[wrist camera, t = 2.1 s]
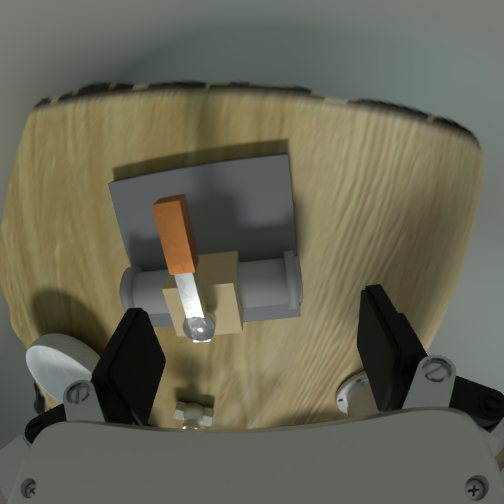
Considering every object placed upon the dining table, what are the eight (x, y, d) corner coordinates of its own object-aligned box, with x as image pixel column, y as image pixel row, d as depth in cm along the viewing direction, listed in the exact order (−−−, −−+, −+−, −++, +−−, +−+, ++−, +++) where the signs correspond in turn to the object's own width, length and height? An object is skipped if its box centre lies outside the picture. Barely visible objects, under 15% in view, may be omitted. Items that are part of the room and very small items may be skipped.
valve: (179, 390, 48) (165, 447, 37) (216, 399, 48) (208, 457, 37) (176, 410, 50) (164, 463, 40) (210, 417, 51) (203, 471, 40)
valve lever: (219, 328, 29) (217, 341, 27) (190, 330, 30) (186, 343, 28) (190, 193, 24) (184, 199, 22) (155, 198, 24) (147, 205, 22)
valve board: (286, 152, 31) (297, 167, 23) (299, 309, 39) (307, 359, 31) (113, 180, 33) (72, 203, 24) (155, 320, 41) (134, 366, 33)
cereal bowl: (128, 346, 44) (113, 378, 37) (119, 398, 50) (108, 426, 44) (41, 304, 41) (19, 329, 35) (46, 363, 48) (30, 387, 41)
